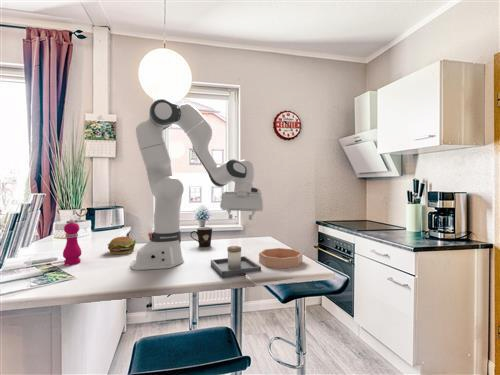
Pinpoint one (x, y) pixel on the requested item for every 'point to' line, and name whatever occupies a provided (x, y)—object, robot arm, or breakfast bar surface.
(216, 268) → the tray
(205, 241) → the coffee mug
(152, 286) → the breakfast bar surface
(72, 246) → the pepper mill
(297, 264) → the bowl
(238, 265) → the spice jar
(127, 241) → the food
